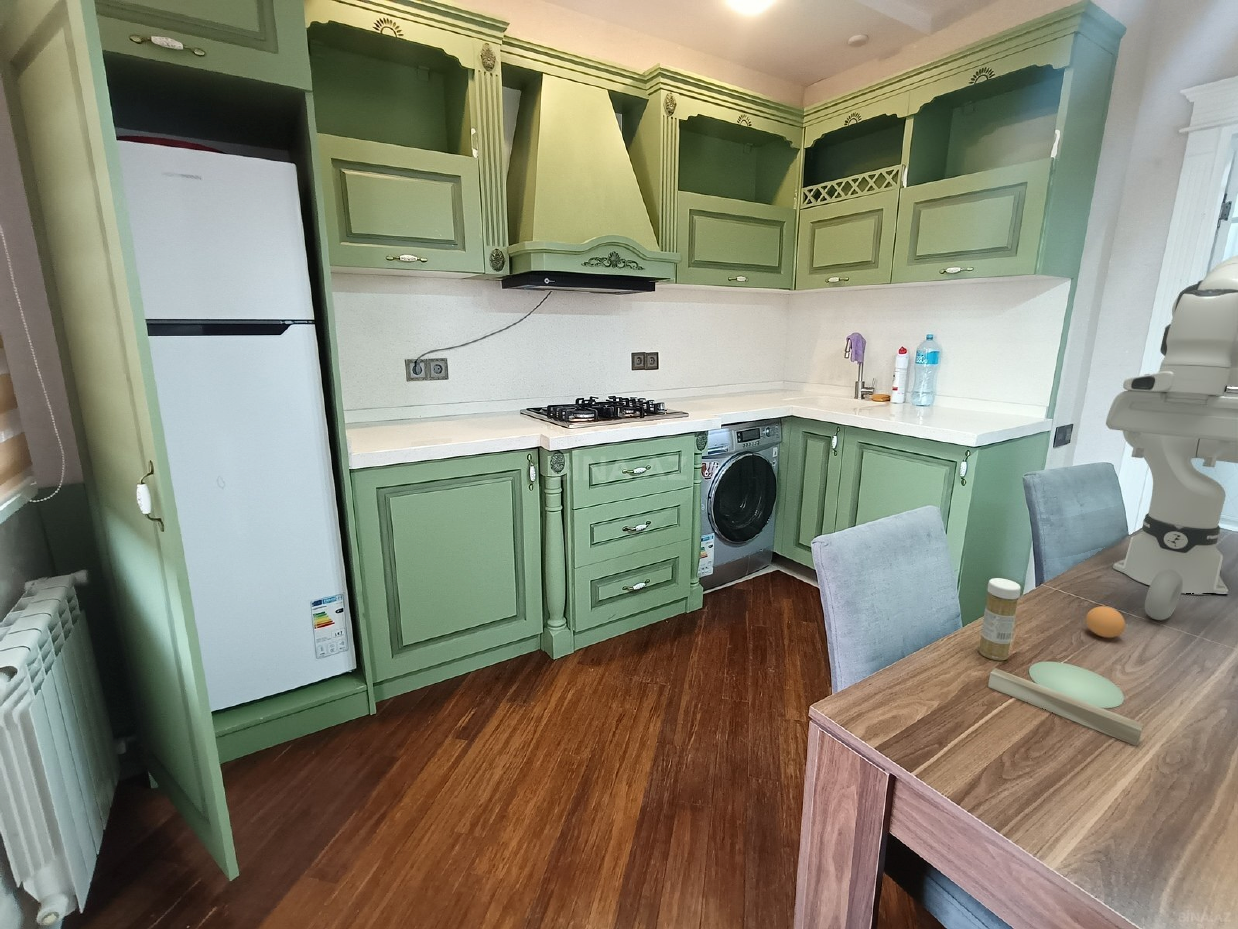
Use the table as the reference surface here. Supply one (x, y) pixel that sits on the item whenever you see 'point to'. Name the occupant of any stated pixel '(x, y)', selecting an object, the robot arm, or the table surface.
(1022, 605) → the table surface
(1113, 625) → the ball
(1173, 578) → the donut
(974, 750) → the table surface
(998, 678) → the rail
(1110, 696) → the disc
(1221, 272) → the robot arm
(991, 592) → the sprinkles bottle
